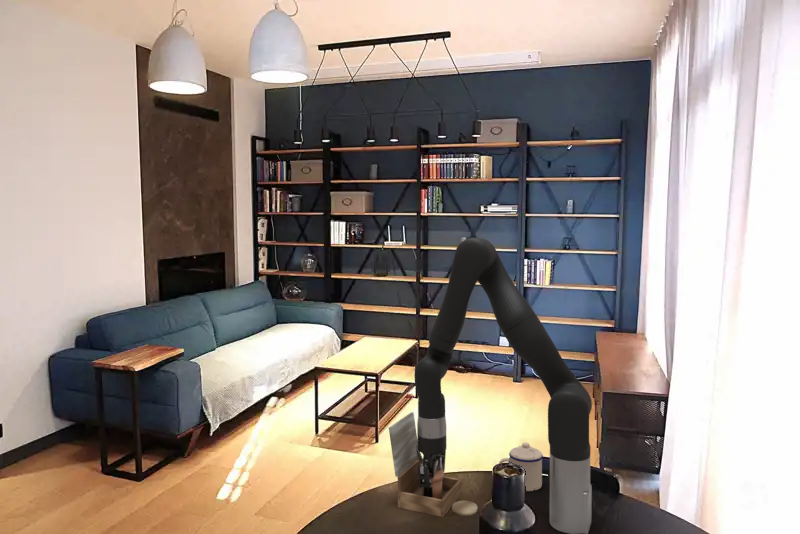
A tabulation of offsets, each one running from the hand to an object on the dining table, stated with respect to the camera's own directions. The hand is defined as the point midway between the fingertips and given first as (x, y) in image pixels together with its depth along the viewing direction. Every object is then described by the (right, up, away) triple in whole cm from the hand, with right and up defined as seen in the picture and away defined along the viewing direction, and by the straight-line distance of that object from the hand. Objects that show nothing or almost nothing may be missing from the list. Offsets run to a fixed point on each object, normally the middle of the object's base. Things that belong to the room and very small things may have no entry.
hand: (432, 495), depth 152 cm
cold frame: (-1, -1, +1) cm, 2 cm away
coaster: (+8, -2, -5) cm, 9 cm away
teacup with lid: (+25, -1, +9) cm, 27 cm away
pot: (0, -1, 0) cm, 1 cm away
